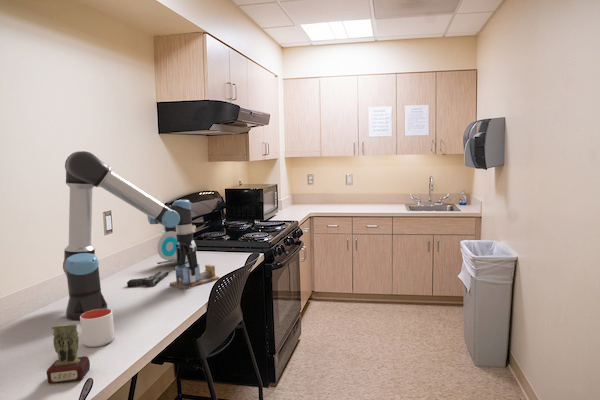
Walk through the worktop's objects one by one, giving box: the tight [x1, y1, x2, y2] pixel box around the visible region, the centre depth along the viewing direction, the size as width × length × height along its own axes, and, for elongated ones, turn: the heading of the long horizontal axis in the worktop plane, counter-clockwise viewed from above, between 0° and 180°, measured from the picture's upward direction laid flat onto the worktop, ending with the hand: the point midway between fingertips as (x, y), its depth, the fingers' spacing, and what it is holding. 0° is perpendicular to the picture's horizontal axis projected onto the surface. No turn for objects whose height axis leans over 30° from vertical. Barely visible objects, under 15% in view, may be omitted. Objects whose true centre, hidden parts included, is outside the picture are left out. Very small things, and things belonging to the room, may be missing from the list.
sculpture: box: [46, 324, 91, 384], centre depth 134 cm, size 10×8×15 cm
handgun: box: [126, 269, 169, 288], centre depth 231 cm, size 20×3×14 cm
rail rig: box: [169, 264, 221, 290], centre depth 224 cm, size 20×12×6 cm, turn 136°
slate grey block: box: [174, 262, 201, 285], centre depth 221 cm, size 9×6×8 cm
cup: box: [79, 308, 116, 348], centre depth 158 cm, size 10×10×10 cm
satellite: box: [156, 224, 197, 266], centre depth 262 cm, size 23×20×25 cm
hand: (188, 280), depth 222 cm, fingers open, 7 cm apart
